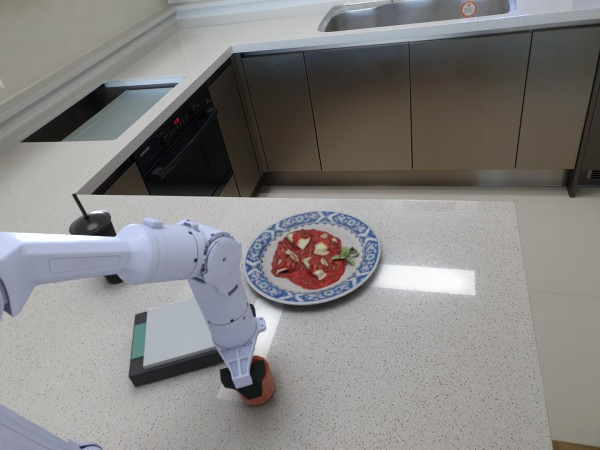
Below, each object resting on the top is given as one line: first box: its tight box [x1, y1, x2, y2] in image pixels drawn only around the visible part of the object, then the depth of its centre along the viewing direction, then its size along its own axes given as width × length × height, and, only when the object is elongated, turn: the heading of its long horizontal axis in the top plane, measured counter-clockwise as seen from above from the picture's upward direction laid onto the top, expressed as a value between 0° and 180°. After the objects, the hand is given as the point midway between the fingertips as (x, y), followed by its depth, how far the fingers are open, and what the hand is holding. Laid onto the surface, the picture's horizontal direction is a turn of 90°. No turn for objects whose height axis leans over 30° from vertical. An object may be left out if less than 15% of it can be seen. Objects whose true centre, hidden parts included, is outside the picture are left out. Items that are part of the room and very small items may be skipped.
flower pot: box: [236, 354, 276, 406], centre depth 66 cm, size 5×6×4 cm
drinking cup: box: [68, 192, 124, 285], centre depth 87 cm, size 8×8×20 cm
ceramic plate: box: [242, 210, 381, 306], centre depth 86 cm, size 26×26×3 cm
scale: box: [127, 296, 225, 388], centre depth 75 cm, size 15×13×4 cm
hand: (251, 372), depth 64 cm, fingers open, 7 cm apart
